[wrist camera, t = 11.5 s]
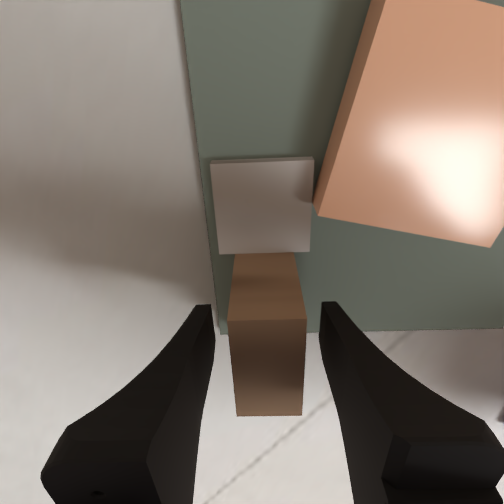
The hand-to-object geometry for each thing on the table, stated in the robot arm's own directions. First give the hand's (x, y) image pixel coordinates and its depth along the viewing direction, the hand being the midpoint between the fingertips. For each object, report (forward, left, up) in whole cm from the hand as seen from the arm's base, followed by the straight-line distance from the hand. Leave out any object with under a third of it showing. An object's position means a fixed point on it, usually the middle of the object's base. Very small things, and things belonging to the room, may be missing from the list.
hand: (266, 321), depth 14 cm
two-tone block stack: (0, -2, -2) cm, 3 cm away
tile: (-5, -4, -1) cm, 7 cm away
